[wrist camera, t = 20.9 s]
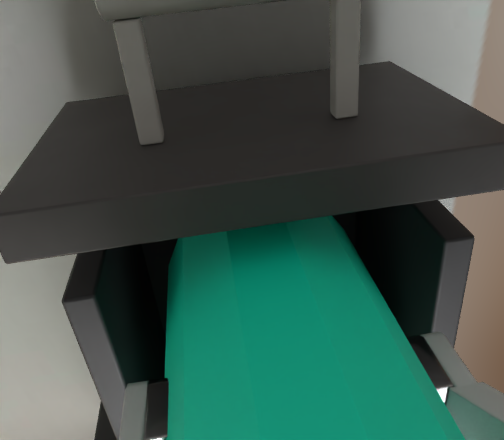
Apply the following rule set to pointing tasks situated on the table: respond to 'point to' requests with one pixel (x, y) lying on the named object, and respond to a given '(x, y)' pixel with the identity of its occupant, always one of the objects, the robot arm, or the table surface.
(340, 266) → the candle
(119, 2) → the drawer
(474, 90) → the table surface
